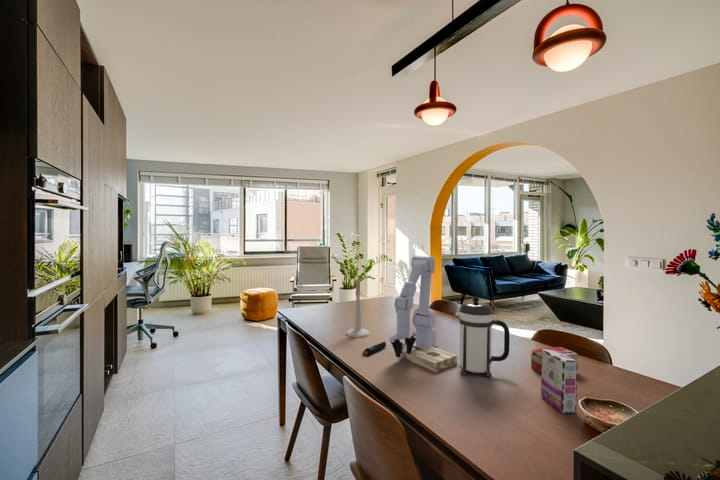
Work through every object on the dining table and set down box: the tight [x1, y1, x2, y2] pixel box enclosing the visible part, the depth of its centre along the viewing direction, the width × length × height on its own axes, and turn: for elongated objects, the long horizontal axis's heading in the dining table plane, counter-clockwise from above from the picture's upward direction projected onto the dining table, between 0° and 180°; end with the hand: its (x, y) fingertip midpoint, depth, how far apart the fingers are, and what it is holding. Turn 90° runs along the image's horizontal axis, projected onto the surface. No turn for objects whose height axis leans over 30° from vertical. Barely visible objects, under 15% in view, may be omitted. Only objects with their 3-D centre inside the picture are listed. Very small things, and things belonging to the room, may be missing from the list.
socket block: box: [409, 346, 458, 373], centre depth 146 cm, size 14×14×4 cm
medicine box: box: [530, 346, 578, 374], centre depth 138 cm, size 15×8×8 cm, turn 105°
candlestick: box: [345, 278, 371, 339], centre depth 185 cm, size 13×13×30 cm
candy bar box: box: [540, 348, 579, 414], centre depth 111 cm, size 11×5×16 cm, turn 5°
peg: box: [399, 341, 408, 362], centre depth 149 cm, size 3×3×7 cm
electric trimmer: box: [362, 341, 387, 357], centre depth 160 cm, size 4×16×3 cm, turn 141°
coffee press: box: [455, 296, 510, 379], centre depth 137 cm, size 17×16×30 cm
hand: (403, 355), depth 149 cm, fingers open, 6 cm apart
